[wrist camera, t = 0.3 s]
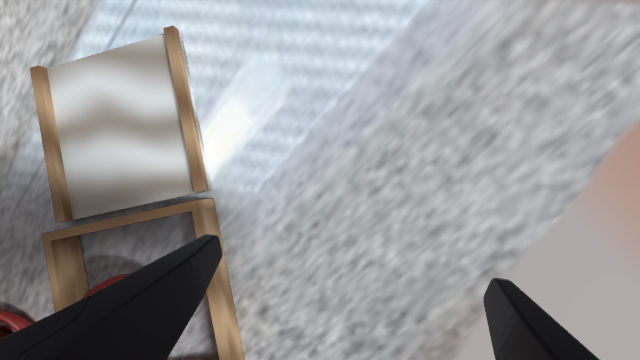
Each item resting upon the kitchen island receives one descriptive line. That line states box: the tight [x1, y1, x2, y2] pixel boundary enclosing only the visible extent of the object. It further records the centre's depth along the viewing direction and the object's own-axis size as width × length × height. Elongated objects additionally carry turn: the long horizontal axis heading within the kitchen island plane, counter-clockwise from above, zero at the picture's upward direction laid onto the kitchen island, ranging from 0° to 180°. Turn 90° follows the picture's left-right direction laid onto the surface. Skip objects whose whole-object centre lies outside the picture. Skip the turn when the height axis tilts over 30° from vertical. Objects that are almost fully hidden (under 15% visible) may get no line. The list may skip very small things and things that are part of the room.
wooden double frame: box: [30, 26, 245, 360], centre depth 24 cm, size 32×16×2 cm, turn 12°
